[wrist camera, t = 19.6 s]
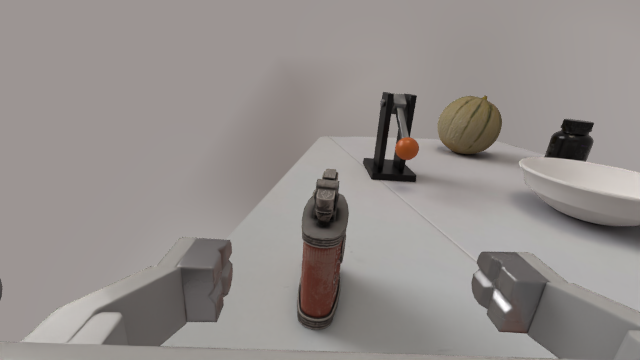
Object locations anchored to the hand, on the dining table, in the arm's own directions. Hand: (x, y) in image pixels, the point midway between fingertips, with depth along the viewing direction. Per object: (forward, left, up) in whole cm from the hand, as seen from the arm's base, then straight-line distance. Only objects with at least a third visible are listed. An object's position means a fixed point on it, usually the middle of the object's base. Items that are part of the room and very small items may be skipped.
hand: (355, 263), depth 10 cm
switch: (+14, +43, -3) cm, 46 cm away
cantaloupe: (+39, +68, -12) cm, 79 cm away
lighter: (0, +12, -12) cm, 17 cm away
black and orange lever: (+14, +47, -11) cm, 51 cm away
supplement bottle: (+52, +51, -12) cm, 74 cm away
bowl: (+40, +31, -12) cm, 52 cm away
